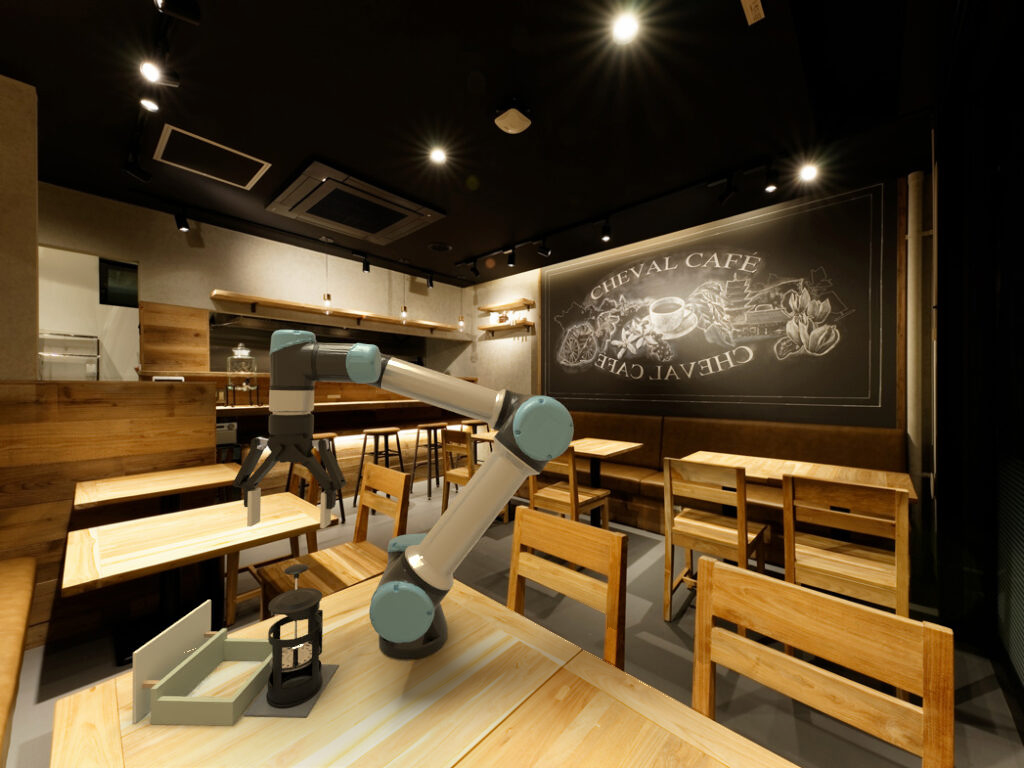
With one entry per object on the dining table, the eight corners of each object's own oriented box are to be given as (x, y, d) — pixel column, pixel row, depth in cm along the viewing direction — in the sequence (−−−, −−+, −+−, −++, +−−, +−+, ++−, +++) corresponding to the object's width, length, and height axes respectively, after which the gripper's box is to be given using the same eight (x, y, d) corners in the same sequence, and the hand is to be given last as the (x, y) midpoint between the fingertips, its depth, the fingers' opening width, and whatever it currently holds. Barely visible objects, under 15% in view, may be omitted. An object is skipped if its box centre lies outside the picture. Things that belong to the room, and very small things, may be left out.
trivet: (338, 666, 84) (338, 664, 84) (306, 717, 71) (306, 716, 71) (285, 664, 84) (285, 663, 84) (243, 716, 71) (243, 714, 71)
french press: (295, 716, 71) (296, 583, 71) (250, 705, 73) (251, 577, 73) (338, 670, 83) (340, 555, 83) (298, 662, 85) (300, 550, 85)
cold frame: (288, 658, 86) (288, 601, 86) (232, 725, 70) (233, 655, 69) (207, 656, 87) (208, 599, 87) (132, 723, 70) (132, 652, 70)
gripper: (364, 412, 82) (362, 519, 82) (239, 409, 82) (237, 516, 82) (349, 415, 74) (347, 533, 74) (211, 412, 74) (209, 530, 74)
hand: (289, 525), depth 78 cm, fingers open, 13 cm apart
